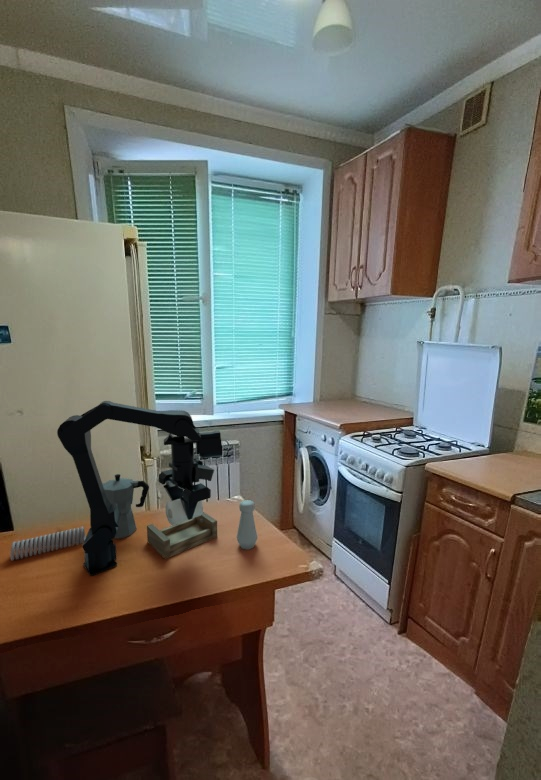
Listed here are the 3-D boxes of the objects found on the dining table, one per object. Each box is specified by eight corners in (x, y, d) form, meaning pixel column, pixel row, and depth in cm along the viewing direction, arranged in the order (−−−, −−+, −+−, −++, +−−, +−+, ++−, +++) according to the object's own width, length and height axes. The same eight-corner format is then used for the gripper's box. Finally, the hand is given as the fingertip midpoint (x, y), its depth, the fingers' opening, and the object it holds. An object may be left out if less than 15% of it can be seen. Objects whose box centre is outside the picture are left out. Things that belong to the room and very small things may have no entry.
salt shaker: (232, 547, 102) (232, 503, 100) (243, 537, 107) (243, 496, 105) (250, 553, 99) (250, 508, 98) (261, 543, 104) (261, 500, 103)
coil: (8, 549, 94) (86, 531, 103) (10, 539, 98) (85, 522, 107) (10, 565, 95) (87, 545, 104) (12, 554, 99) (86, 536, 108)
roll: (175, 529, 94) (174, 507, 93) (165, 520, 98) (164, 499, 97) (203, 518, 99) (203, 498, 98) (193, 510, 103) (192, 490, 103)
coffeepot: (92, 541, 105) (88, 481, 103) (102, 524, 114) (98, 469, 112) (148, 537, 107) (145, 478, 105) (153, 521, 117) (150, 467, 114)
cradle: (164, 559, 97) (164, 541, 96) (147, 541, 105) (146, 525, 104) (217, 536, 108) (217, 520, 107) (198, 522, 116) (197, 507, 115)
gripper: (228, 461, 94) (228, 518, 96) (193, 445, 108) (194, 495, 111) (189, 471, 87) (190, 532, 89) (157, 452, 101) (159, 506, 103)
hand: (184, 514), depth 98 cm, fingers closed on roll, 6 cm apart
